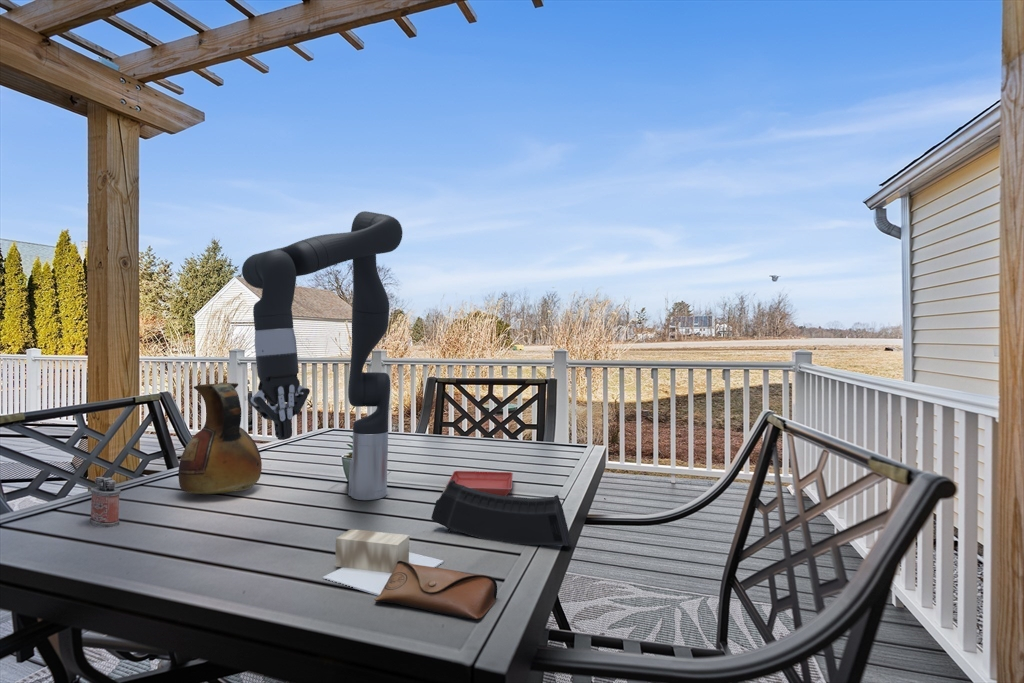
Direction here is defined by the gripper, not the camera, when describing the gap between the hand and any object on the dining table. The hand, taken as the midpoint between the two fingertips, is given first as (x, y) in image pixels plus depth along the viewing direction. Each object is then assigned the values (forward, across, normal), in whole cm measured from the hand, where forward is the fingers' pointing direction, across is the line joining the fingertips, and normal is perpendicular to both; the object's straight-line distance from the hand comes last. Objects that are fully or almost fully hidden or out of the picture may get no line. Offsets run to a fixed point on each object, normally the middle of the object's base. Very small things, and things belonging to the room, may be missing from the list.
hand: (284, 438), depth 102 cm
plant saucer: (+28, +56, -9) cm, 63 cm away
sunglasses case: (+23, -4, -38) cm, 45 cm away
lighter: (+18, -13, +45) cm, 50 cm away
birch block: (+19, -1, -15) cm, 25 cm away
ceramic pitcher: (+20, +15, +48) cm, 54 cm away
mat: (+23, 0, -24) cm, 33 cm away
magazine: (+26, +24, -33) cm, 49 cm away
